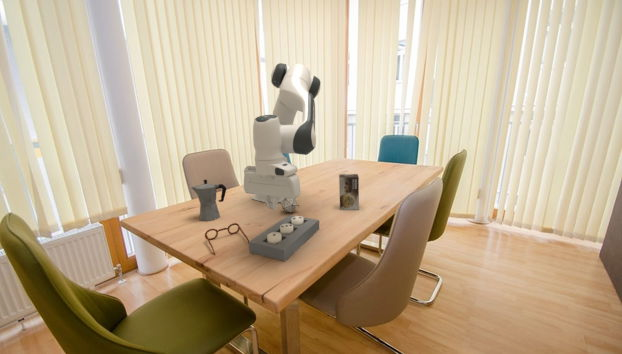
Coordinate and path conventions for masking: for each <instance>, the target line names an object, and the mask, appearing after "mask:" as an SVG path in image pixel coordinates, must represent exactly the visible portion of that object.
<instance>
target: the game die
mask: <svg viewBox="0 0 622 354" xmlns="http://www.w3.org/2000/svg"><path fill="white" fill-rule="evenodd" d="M278 204H280V205H281V207H282V210H283V212H282V213H285V212H288V213H291V214H290V215H293V212H294V211H295V210H296V208H298V207H300V205H298V203H297V200H296V198H295V199H288V198H284V199H283V201H282V202H278Z"/></svg>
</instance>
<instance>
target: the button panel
mask: <svg viewBox="0 0 622 354" xmlns="http://www.w3.org/2000/svg"><path fill="white" fill-rule="evenodd" d="M294 216H295V215H293V214H288V215H287V216H285V217H284V218H282V219H281V220H279V221H278V222H276V223H274V224H273V225H271V226H270V227H268V228H267V229H265V230H264V231H262V232H261V233H260V234H258V235H256V236H255V237H254V238H252V239H251V240H249V243H248V249H249V253H250V254H254V255H258V256H262V257H267V258H271V259H274V260H278V261H283V262H286V261H287V260H288V259H289V258H291V256H293V255H294V253H296V252H297V250H299V249H301V247H302V246H303V245H304V244H305V243H307V241H308V240H310V239H311V238H312V237H313V236H314V234H316V233H317V232H318V231H319V230H320V219H316V218H310V217H304V216H302V217H303V219H304V224H302V225H301V226H298V225H293V232H292V233H291V234H290V235H289V234H284V233H281V236H282V241H281V242H280V243H279V244H277V245H276V244H272V243H268V241H267V235H268V234H269V233H272V232H279V233H280V226H281V225H282V224H286V223H289V224H291V218H292V217H294Z"/></svg>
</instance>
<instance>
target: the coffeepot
mask: <svg viewBox="0 0 622 354" xmlns="http://www.w3.org/2000/svg"><path fill="white" fill-rule="evenodd" d="M191 189H192V190H193V191H194V193H195V194H196V195H197V197H198V202H199V205H200V206H199V221H202V222H212V221H215V219H216V220H217V219H219V218H220V217H221V215H220V212H219V208H218V204H217V201H218V202H219V203H222V202H224V199H225V196H226V193H227V187H226V186H225V185H224V184H222V183H209V182H208V179H203V183H202V184H199V185H194V186H192V187H191ZM218 189H222V190H221V196H220V199H218V200H217V190H218Z"/></svg>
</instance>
